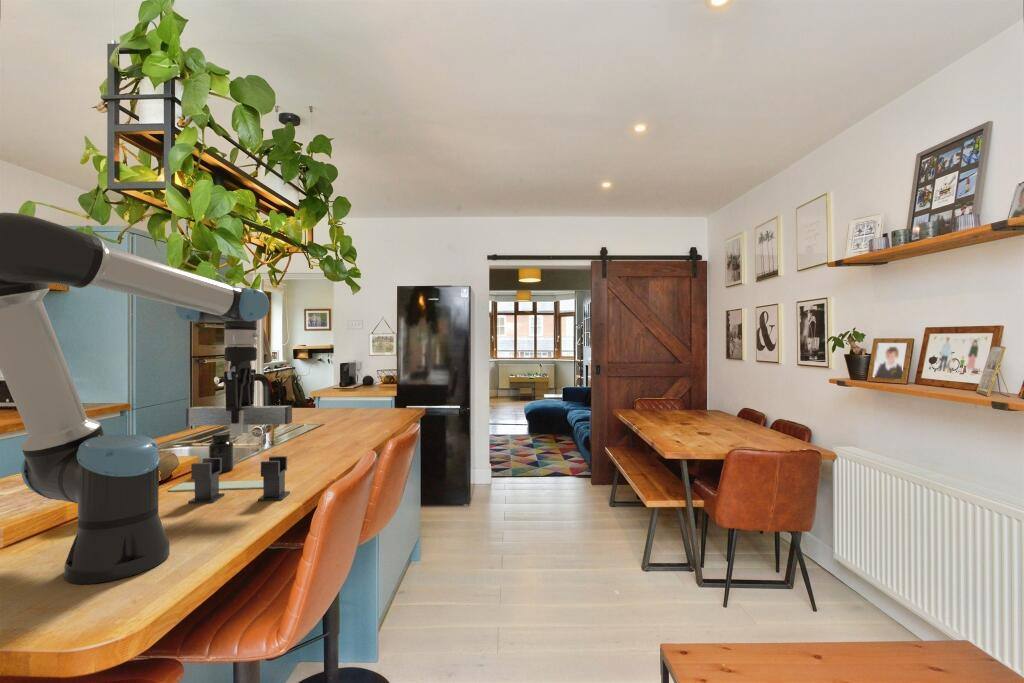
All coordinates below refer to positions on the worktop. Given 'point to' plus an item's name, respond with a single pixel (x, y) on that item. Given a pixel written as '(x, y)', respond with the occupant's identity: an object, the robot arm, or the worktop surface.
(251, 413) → the rail
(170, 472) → the bread roll
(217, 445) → the supplement bottle
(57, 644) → the worktop surface
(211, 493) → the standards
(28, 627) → the worktop surface
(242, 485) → the mat
